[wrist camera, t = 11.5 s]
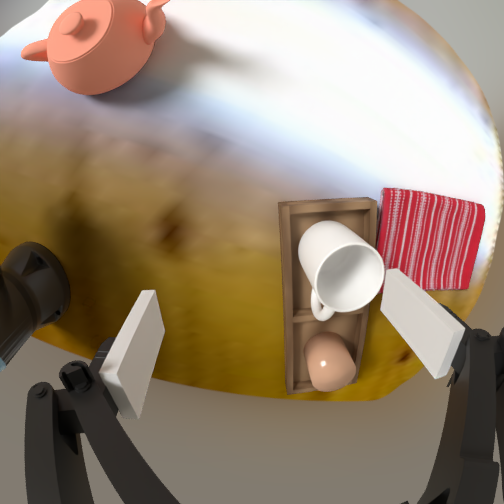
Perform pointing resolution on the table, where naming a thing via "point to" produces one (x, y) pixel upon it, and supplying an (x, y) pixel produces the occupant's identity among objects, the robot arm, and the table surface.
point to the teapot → (100, 43)
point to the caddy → (299, 287)
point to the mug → (339, 268)
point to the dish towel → (429, 237)
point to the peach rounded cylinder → (328, 361)
